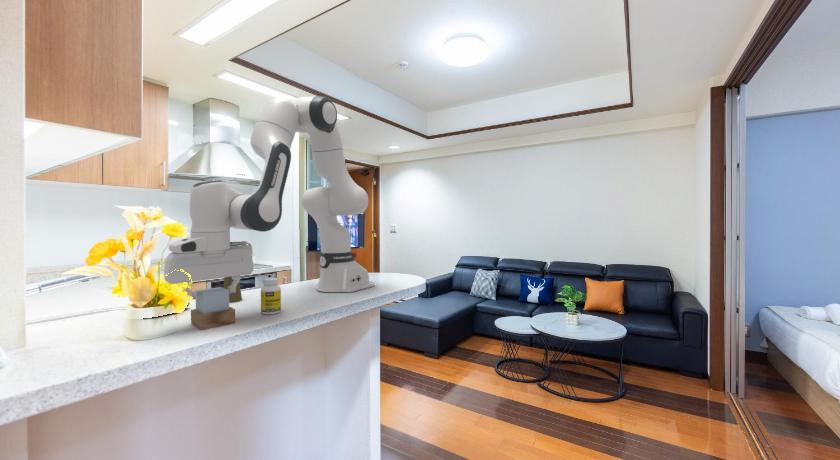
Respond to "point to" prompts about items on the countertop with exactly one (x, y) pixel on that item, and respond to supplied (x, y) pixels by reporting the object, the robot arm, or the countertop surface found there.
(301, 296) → the countertop surface
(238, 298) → the cork
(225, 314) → the base block
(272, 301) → the supplement bottle
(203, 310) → the blue block
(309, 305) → the countertop surface
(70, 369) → the countertop surface
